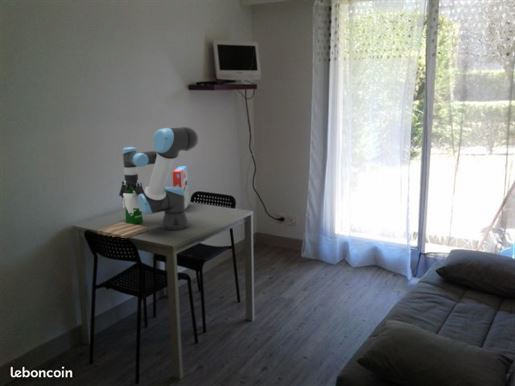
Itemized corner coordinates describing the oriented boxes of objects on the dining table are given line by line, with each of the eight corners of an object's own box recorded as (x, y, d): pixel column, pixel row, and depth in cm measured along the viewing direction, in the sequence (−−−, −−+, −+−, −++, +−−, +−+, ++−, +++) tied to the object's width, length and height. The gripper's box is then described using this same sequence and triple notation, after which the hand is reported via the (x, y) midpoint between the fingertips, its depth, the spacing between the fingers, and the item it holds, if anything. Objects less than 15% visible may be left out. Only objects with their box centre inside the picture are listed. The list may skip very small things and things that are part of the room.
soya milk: (134, 219, 273) (132, 187, 269) (145, 221, 269) (143, 189, 264) (123, 223, 266) (121, 190, 262) (134, 225, 261) (132, 191, 257)
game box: (181, 205, 308) (179, 166, 302) (189, 205, 308) (187, 166, 302) (174, 212, 288) (172, 171, 282) (182, 212, 288) (180, 171, 282)
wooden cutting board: (147, 230, 251) (147, 227, 250) (122, 239, 236) (122, 235, 235) (122, 225, 261) (122, 222, 261) (97, 233, 246) (97, 230, 246)
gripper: (151, 174, 258) (153, 210, 262) (121, 171, 270) (123, 205, 275) (141, 176, 251) (143, 213, 256) (111, 173, 264) (114, 207, 269)
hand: (133, 209), depth 266 cm, fingers open, 13 cm apart
